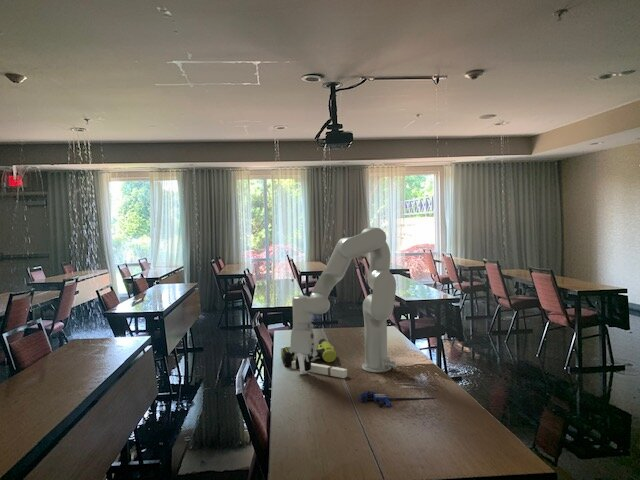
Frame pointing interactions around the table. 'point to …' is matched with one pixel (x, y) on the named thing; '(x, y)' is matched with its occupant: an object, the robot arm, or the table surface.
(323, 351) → the cordless drill
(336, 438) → the table surface
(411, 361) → the table surface
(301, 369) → the milkshake
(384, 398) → the bar clamp
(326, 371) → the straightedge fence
